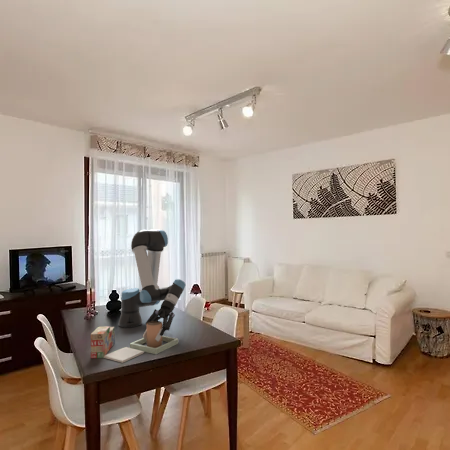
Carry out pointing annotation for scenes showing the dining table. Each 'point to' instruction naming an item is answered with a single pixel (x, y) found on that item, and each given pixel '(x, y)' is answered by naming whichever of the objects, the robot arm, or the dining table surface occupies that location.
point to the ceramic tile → (123, 354)
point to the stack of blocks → (102, 341)
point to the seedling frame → (157, 350)
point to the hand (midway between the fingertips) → (150, 339)
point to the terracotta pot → (153, 334)
